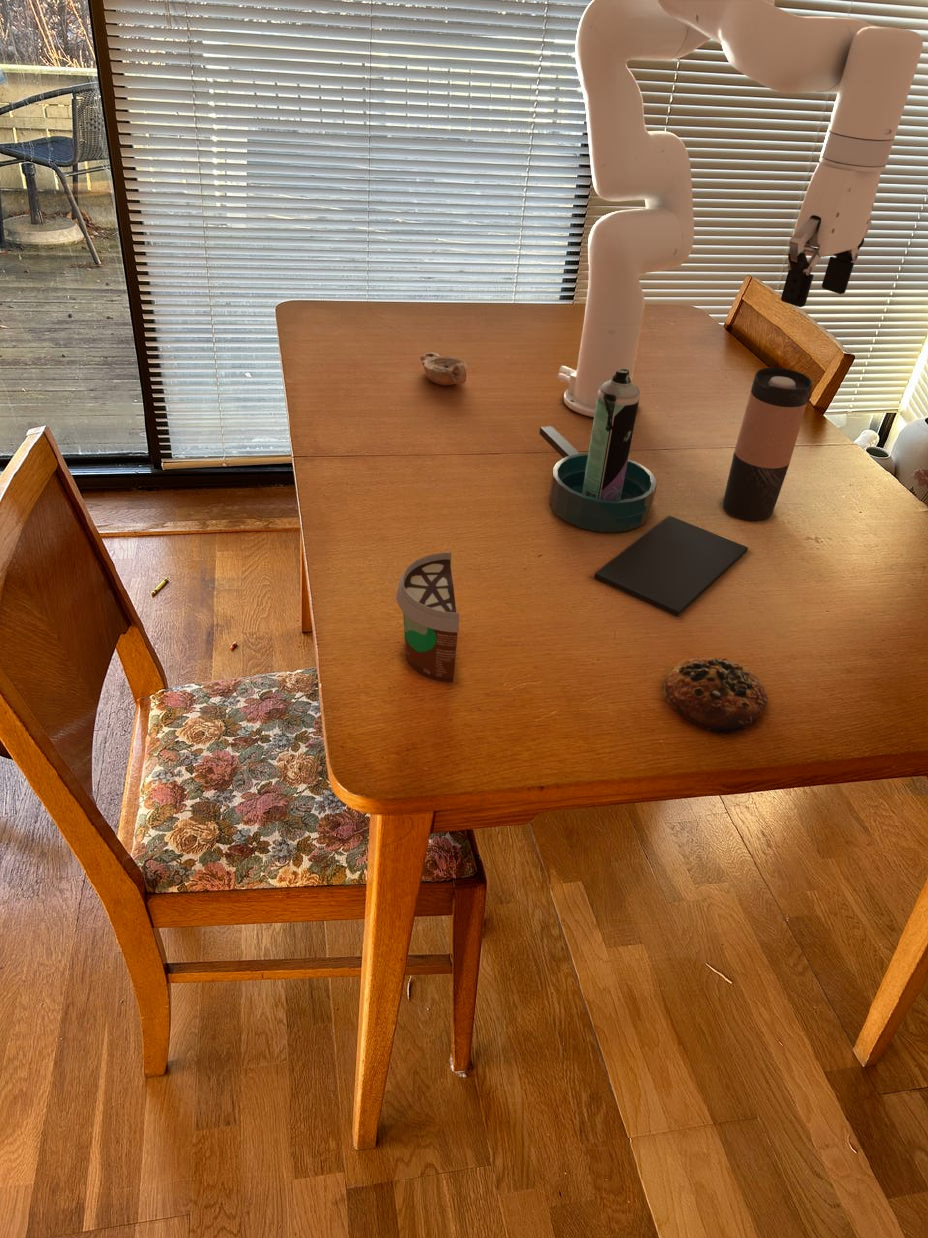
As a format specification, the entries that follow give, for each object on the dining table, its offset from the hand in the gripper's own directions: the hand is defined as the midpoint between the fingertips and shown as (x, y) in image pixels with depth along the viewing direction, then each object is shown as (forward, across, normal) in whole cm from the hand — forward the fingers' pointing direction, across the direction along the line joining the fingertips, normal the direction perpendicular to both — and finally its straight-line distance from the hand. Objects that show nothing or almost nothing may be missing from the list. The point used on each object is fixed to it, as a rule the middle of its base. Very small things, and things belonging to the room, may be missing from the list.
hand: (812, 297), depth 120 cm
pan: (+30, +21, -12) cm, 38 cm away
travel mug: (+30, +4, +1) cm, 30 cm away
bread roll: (+30, +42, +23) cm, 57 cm away
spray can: (+30, +21, -12) cm, 38 cm away
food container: (+30, +62, -2) cm, 69 cm away
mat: (+30, +24, +4) cm, 39 cm away
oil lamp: (+30, +10, -59) cm, 67 cm away
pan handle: (+27, +17, -24) cm, 40 cm away
